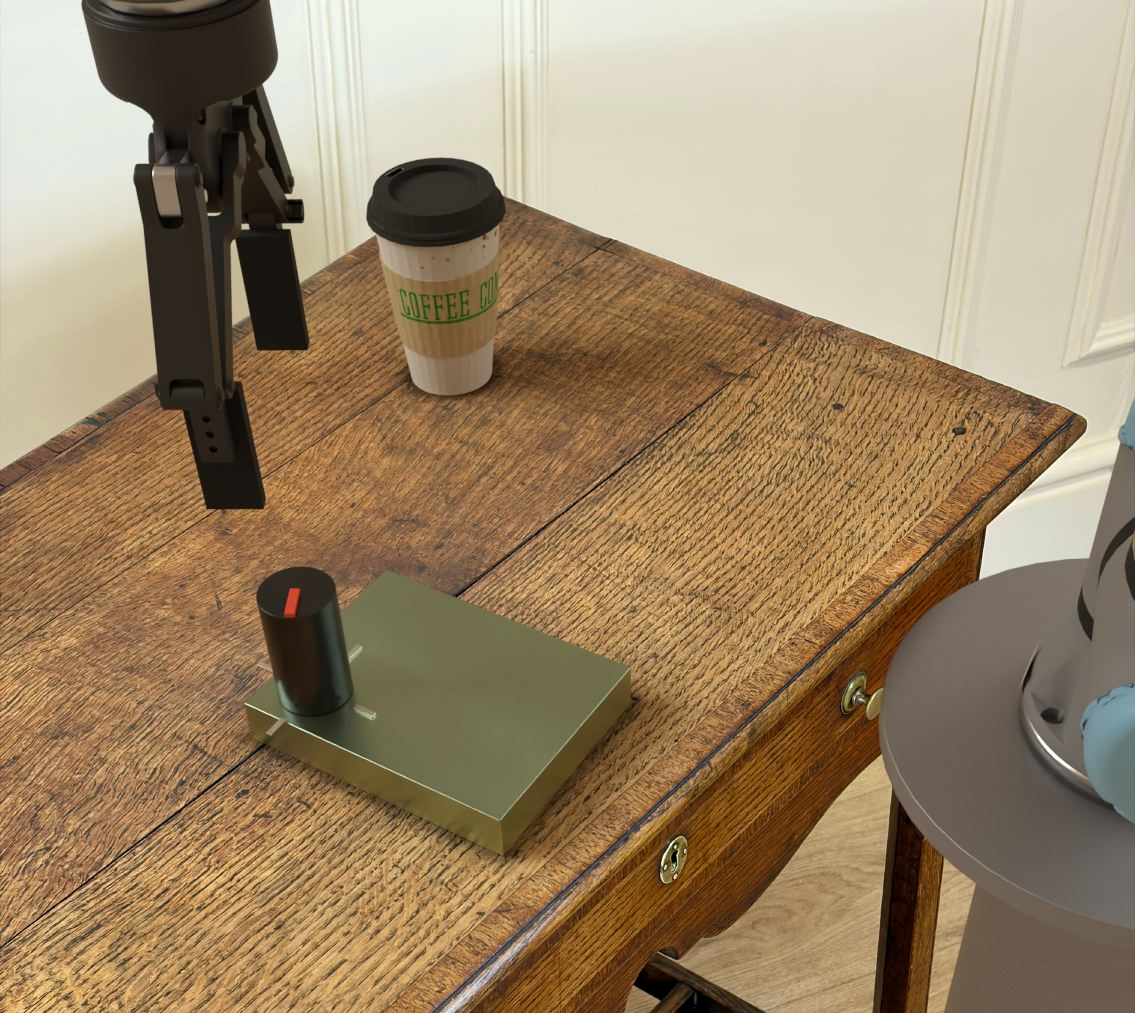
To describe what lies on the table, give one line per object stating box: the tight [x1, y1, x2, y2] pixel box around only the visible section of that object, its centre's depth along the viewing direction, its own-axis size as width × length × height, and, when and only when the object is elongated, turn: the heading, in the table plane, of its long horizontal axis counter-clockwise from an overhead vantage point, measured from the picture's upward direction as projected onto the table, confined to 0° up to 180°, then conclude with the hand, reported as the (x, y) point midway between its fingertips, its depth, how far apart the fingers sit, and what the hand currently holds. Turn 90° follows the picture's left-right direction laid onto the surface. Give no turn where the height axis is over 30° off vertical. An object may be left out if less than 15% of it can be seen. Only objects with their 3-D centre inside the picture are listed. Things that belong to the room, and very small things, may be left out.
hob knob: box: [255, 566, 353, 716], centre depth 90 cm, size 4×4×8 cm
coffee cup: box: [365, 157, 507, 397], centre depth 116 cm, size 10×10×15 cm
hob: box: [243, 569, 632, 857], centre depth 94 cm, size 19×15×3 cm
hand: (261, 421), depth 80 cm, fingers open, 13 cm apart
